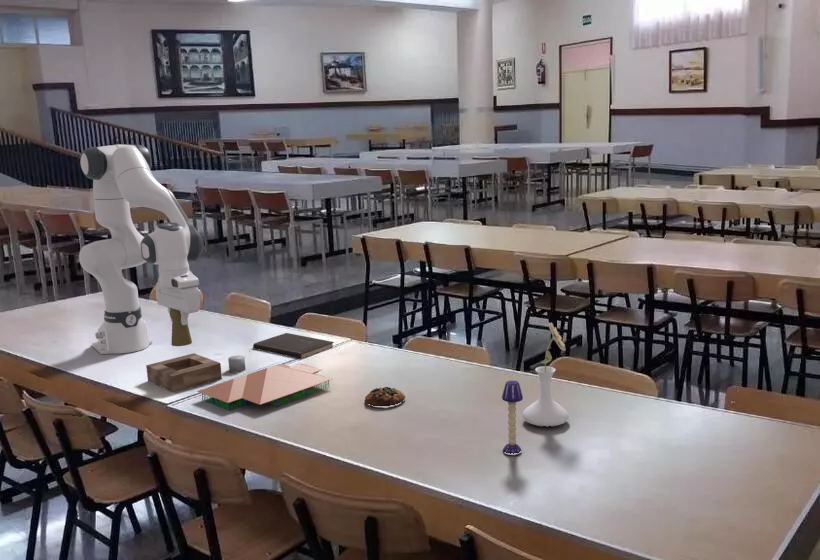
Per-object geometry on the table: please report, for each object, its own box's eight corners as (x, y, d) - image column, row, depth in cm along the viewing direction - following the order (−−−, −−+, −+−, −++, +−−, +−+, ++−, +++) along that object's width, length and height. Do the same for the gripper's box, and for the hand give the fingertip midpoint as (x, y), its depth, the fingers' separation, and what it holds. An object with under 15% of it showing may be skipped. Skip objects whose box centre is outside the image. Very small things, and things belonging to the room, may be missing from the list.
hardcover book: (286, 338, 281) (286, 332, 281) (334, 348, 268) (333, 341, 267) (253, 350, 269) (252, 343, 268) (301, 360, 255) (300, 353, 255)
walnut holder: (147, 380, 238) (146, 365, 237) (195, 368, 249) (193, 353, 248) (173, 392, 227) (171, 376, 226) (221, 378, 238) (220, 363, 237)
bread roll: (374, 411, 206) (373, 393, 206) (358, 404, 216) (357, 386, 216) (412, 405, 211) (411, 387, 211) (394, 398, 221) (393, 381, 221)
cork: (185, 346, 232) (182, 310, 230) (167, 346, 233) (163, 310, 231) (195, 340, 238) (192, 305, 236) (177, 340, 239) (174, 305, 237)
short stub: (226, 370, 246) (225, 358, 245) (239, 366, 250) (238, 354, 249) (234, 373, 243) (233, 361, 242) (248, 369, 246) (247, 357, 245)
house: (340, 387, 228) (339, 360, 226) (246, 421, 204) (244, 391, 203) (290, 372, 243) (289, 346, 242) (198, 402, 220) (195, 374, 218)
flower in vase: (558, 434, 188) (558, 333, 183) (514, 425, 194) (514, 328, 189) (577, 416, 199) (578, 320, 194) (535, 408, 205) (535, 316, 200)
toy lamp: (500, 447, 181) (499, 379, 178) (520, 446, 182) (520, 378, 178) (504, 456, 177) (504, 386, 173) (525, 455, 177) (524, 385, 174)
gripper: (148, 275, 237) (153, 320, 239) (182, 283, 222) (186, 330, 225) (167, 272, 241) (172, 315, 244) (201, 280, 227) (206, 326, 229)
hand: (179, 323), depth 234 cm, fingers closed on cork, 4 cm apart
